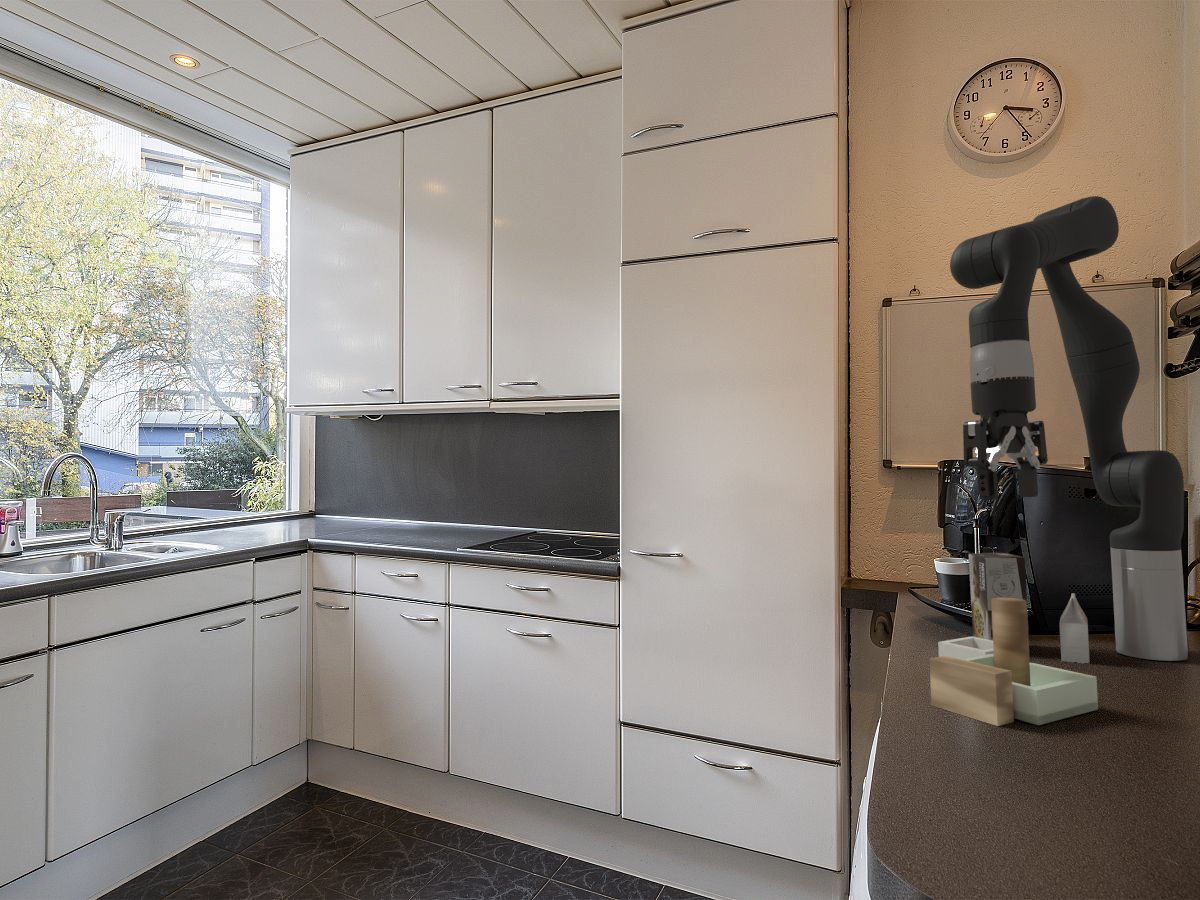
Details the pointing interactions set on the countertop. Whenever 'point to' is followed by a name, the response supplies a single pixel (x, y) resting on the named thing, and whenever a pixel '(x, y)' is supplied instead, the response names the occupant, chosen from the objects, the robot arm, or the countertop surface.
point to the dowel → (1011, 638)
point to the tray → (1050, 693)
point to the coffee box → (993, 586)
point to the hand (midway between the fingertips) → (1009, 498)
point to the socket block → (965, 647)
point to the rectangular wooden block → (972, 689)
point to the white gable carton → (1074, 633)
